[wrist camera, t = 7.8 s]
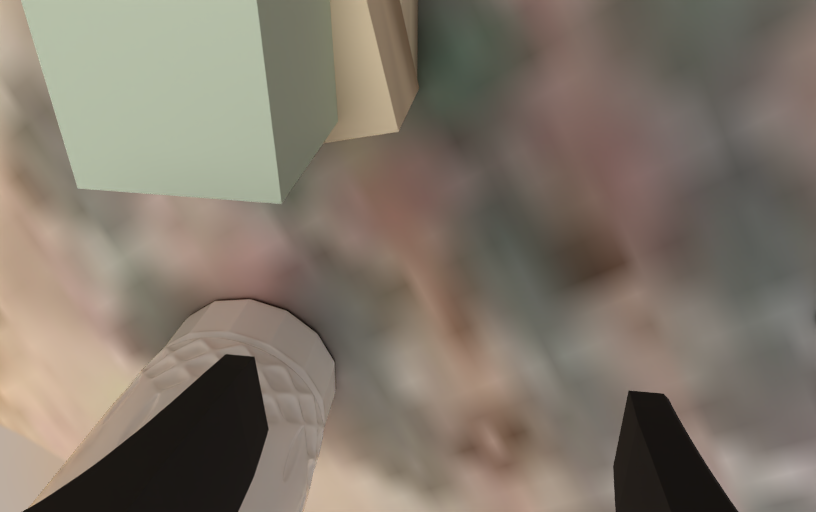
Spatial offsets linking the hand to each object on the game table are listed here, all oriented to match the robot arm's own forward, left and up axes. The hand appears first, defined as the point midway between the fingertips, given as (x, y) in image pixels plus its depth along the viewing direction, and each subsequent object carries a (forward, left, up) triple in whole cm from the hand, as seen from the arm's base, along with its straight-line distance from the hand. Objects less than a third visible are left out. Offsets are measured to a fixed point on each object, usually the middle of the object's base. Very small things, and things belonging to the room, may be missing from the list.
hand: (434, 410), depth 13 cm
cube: (+5, -6, -5) cm, 9 cm away
